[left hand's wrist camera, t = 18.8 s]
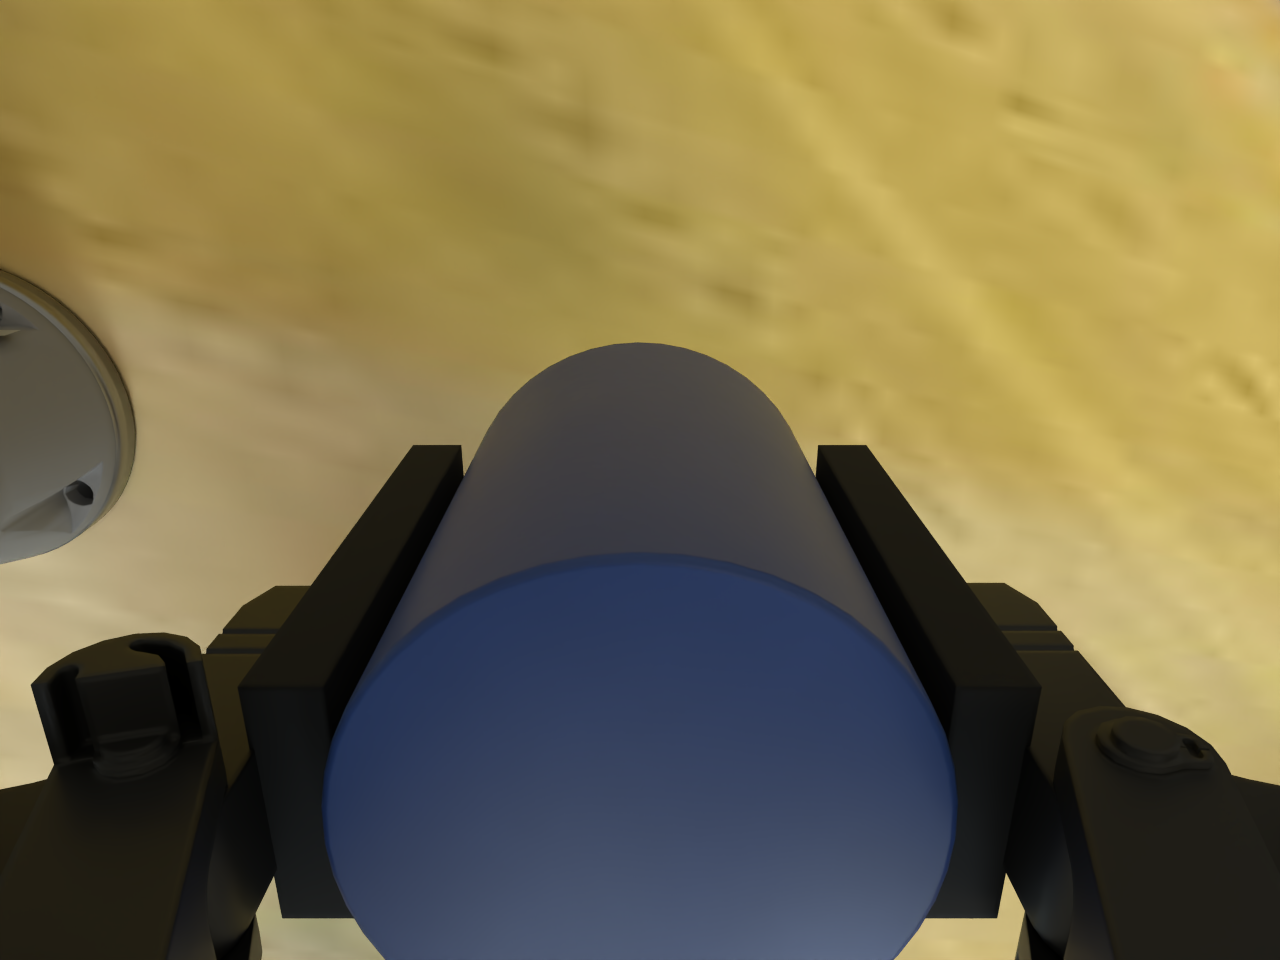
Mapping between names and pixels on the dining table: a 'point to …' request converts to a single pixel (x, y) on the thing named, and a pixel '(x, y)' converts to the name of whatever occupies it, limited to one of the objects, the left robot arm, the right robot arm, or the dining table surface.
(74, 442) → the right robot arm
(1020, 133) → the dining table surface
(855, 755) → the can
